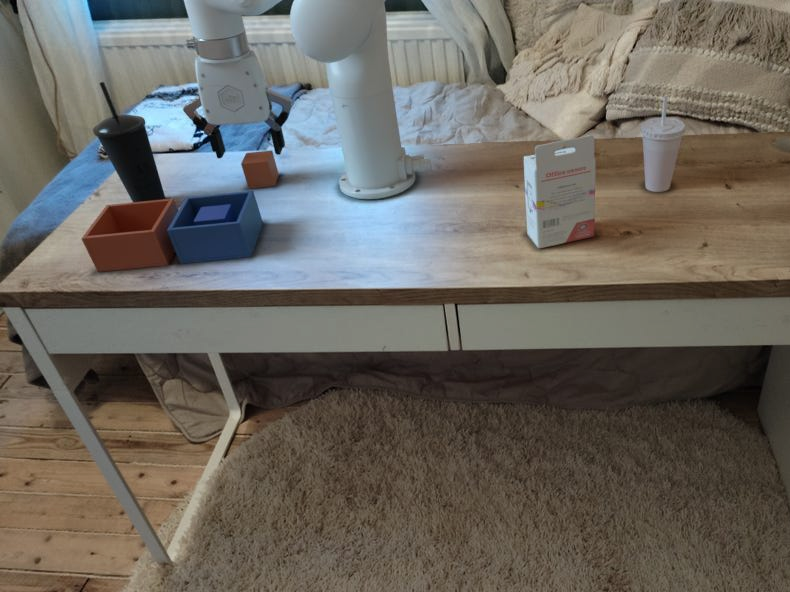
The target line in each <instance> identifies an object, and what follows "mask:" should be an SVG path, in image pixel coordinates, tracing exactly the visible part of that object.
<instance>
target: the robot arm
mask: <svg viewBox="0 0 790 592" xmlns="http://www.w3.org/2000/svg"><path fill="white" fill-rule="evenodd" d="M282 1H283V0H183V3H184V6H185V9H186V13H187V17H188V21H189V24H190V28H191V32H192V35H193V36H192V38H190V39H186V41H185V44H186V48H187V49H188V50H193V51H195V52H196V55H197V56H196V57H195V58H194V69H195V76H196V77H195V78H196V83H197V88H198V89H197V90H198V96H196V97H195V98H194V99H192V100H191V101H189V102H188V103H186V104H185V105H184V106H183V108H182V111H183V112H184V114H185V116H187V117H188V119H190V120H191V121H192V124H193V126H195V127H197V128H199V129H200V130H202V132H203V133H204V135H206V136H208V140H209V143H210V147H211V150H212V152H213V153H215V156H216V158H217V159H222V158H223V156H224V155H225V153H226V148H225V144H224V140H223V136H222V133H221V129H219V127H217V126H234V125H251V124H261V123H264V124H266V125H267V126H268V127H270V128H271V131H270V136H271V141H272V145H273V149H274V153H275V155H277V156H279V155H281V154H282V151H283V148H285V147H286V141H285V137H284V133H283V128H282V127H283V126H284V125H285V123H286V122H287V120H288V119H289V116H290V113H291V111H292V107H293V104H294V101H293V98H290V97H288V96H287V95H283V94H281V93H279V92H277V91H274V90H272V89H269V87H268V84H267V81H266V77H265V75H264V72H263V69H262V67H261V64H260V61H259V59H258V57H257V55H256V53H255V51H254V50H251V48H250V45H249V42H248V36H247V32H246V28H245V24H244V23H245V22H244V20H243V16H247V17H253V16H254V17H255V16H259V15H262V14H265V12H268V11H269V10H271V9H272V8H274V7H275V6H276V5H277V4H279V3H280V2H282ZM386 1H387V0H293V2H292V4H291V8H290V13H289V27H290V31H291V35H292V37H293V40H294V42H295V44H296V46H297V47H298V49H299V50H300V51H301V52H302V53H303V54H304V55H305V56H306V57H308V58H310V59H312V60H313V61H316V62H320V63H324V64H325V70H326V71H325V72H326V79H327V84H328V90H329V94H330V99H331V104H332V108H333V109H332V110H333V114H334V118H335V123H336V128H337V133H338V138H339V143H340V147H341V152H342V157H343V163H344V166H345V167H344V168H345V172H344V173H343V174H342V175H341V176H340V178H339V180H338V185H339V190H340V191H341V193H343V194H344V195H346V196H348V197H350V198H354V199H358V200H359V199H360V200H379V199H385V198H388V197H392V196H396V195H398V194H400V193H403V192H405V191H406V190H408V189H409V188H410V187H412V185H414V183H415V181H416V172H430V171H433V166H432V159H431V158H425V156H424V154H416V155H410V154H407V151H406V148H405V147H404V146H402V141H401V135H400V134H401V133H400V128H399V122H398V115H397V109H396V101H395V96H394V87H393V80H392V73H391V66H390V58H389V49H388V27H387V24H388V23H387V11H386V5H385V3H386ZM272 102H273V103H275V104H277V105H279V106H281V108H282V109H281V112H280V113H279V114H277V113H275V112H274V111H273V103H272ZM200 107H201V108H202V112H203V115H204V117H203V115H202V114H201V115H200V114H199V112H198V111H197V110H198V109H199V108H200Z"/></svg>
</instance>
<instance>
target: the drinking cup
mask: <svg viewBox="0 0 790 592" xmlns="http://www.w3.org/2000/svg"><path fill="white" fill-rule="evenodd" d="M99 86H100V88H101V91H102V94H103V96H104V98H105V100H106V103H107V107H108V108H109V111H110V113H111V116H108V117H107V118H105V119H103V120H102V121H100V123H98V124H96V125H95V126H94V127H93V128H92V133H93V135H94V136H95V137H97V139H98V141H99V143H100V144H101V146H102V148H103V150H104V152H105V153H106V155H107V158H108V159H109V161H110V162H111V164H112V166H113V169H114V170H115V172H116V174H117V175H118V178H119V179H120V181H121V183H122V185H123V187H124V189H125V191H126V192H127V194H128V196H129V198H130V200H131V202H142V201H153V200H163V199H167V198H166V195H165V192H164V188H163V184H162V181H161V177H160V174H159V171H158V167H157V163H156V160H155V156H154V153H153V150H152V146H151V143H150V140H149V136H148V133H147V129H146V120H145V118H144V117H143V116H139V115H133V114H123V113H122V114H118V113H117V111H116V107H115V105H114V103H113V101H112V98H111V95H110V93H109V91H108V88H107V86H106V84H105V81H101V82H99Z"/></svg>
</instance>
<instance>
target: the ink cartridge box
mask: <svg viewBox="0 0 790 592" xmlns="http://www.w3.org/2000/svg"><path fill="white" fill-rule="evenodd" d="M596 162H597V159H596V158H595V137H594V135H592V134H588V135H585V136H580V137H574V138H568V139H563V140H558V141H557V140H556V141H553V142H549V143H544V144H538V145H536V146H535V147H534V154H531V155H525V156H524V155H523V171H524V172H523V175H524V194H525V195H524V196H525V215H526V232H527V233H526V234H527V236H528V237H529V238H530V240H531V241H532V242H533V244H535V246H536V248H538V249H543V248H548V247H552V246H553V247H554V246H557V245H561V244H565V243H571V242H575V241H580V240H584V239H588V238H592V237H594V236H595V223H596V222H595V221H596V220H595V219H596V218H595V217H596V216H595V215H596V169H597V168H596V167H597V165H596Z"/></svg>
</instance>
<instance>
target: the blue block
mask: <svg viewBox="0 0 790 592" xmlns="http://www.w3.org/2000/svg"><path fill="white" fill-rule="evenodd" d="M227 222H237V221H236V218H235V215H234V211H233V208H232V205H231V204H229V205H218V206H208V207H201V208H200V210H199V212H198V214H197V216H196V218H195V220H194V224H195V226H197V225H207V224H217V223H227Z"/></svg>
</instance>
